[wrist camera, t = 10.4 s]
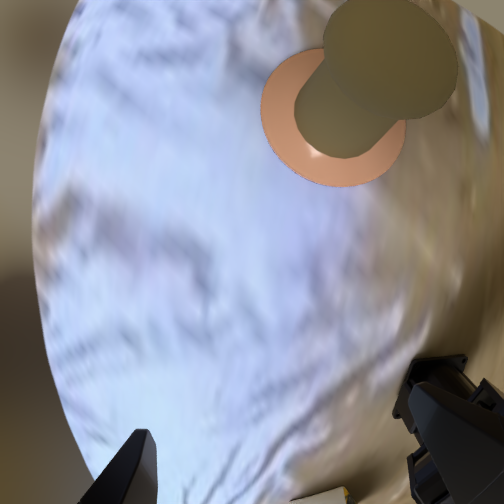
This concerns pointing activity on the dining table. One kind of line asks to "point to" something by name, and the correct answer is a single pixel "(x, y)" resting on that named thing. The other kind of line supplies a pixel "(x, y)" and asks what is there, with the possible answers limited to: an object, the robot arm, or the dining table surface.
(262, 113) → the peach round disc
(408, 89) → the cork
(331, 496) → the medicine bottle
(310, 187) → the dining table surface
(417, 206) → the dining table surface
